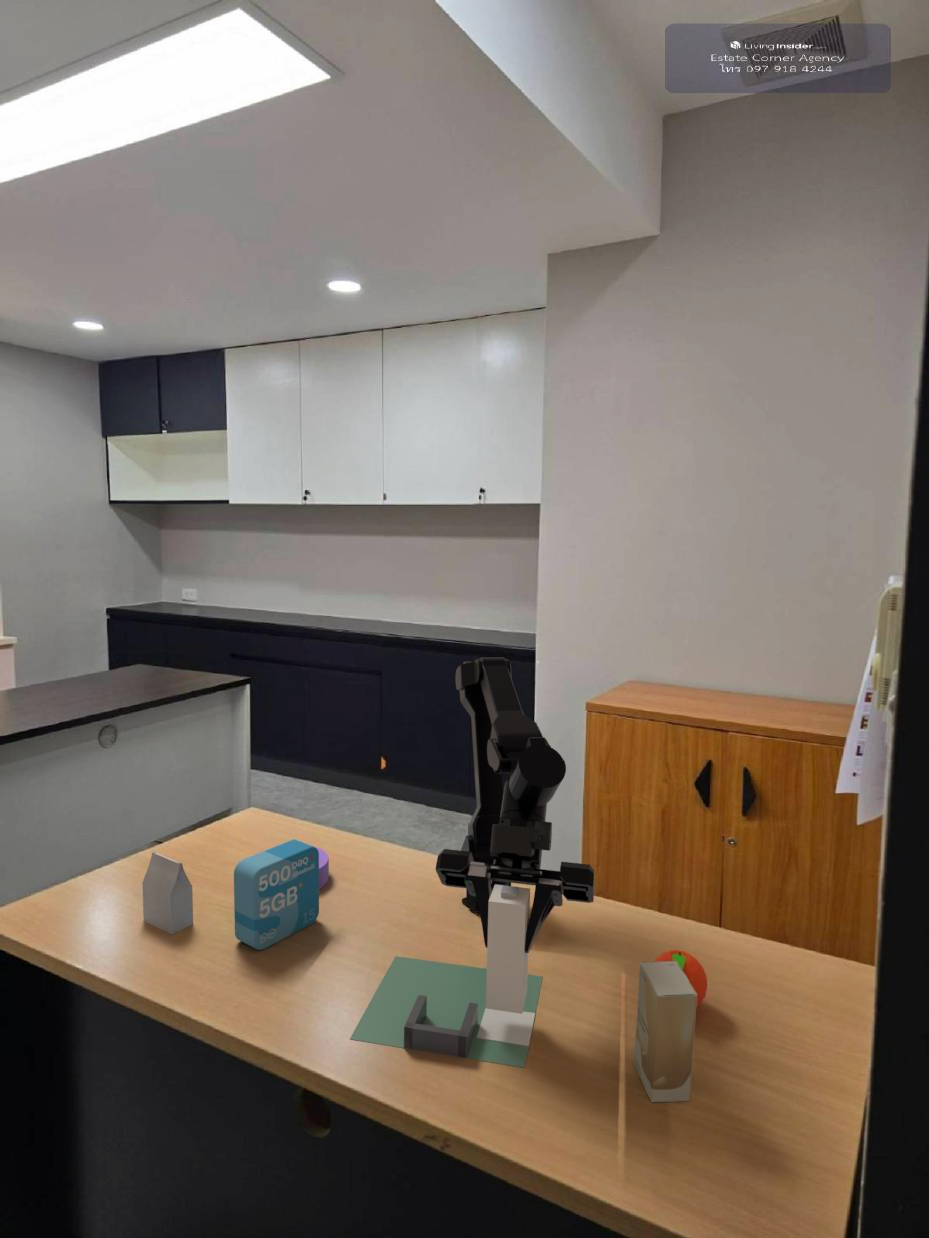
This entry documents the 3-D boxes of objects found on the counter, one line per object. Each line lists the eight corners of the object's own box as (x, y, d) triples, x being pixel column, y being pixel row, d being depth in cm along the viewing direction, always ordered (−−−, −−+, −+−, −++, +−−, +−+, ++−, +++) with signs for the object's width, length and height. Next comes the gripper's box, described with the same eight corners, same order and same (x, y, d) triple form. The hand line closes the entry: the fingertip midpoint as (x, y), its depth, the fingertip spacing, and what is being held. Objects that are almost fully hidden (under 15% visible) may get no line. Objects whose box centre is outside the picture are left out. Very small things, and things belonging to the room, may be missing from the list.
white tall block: (492, 986, 92) (494, 879, 90) (527, 991, 91) (530, 883, 90) (485, 1008, 88) (488, 896, 86) (522, 1013, 87) (525, 900, 86)
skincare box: (632, 1062, 86) (637, 959, 84) (670, 1060, 86) (676, 958, 84) (651, 1105, 79) (657, 994, 78) (692, 1103, 80) (698, 993, 78)
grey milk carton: (171, 934, 110) (169, 868, 109) (143, 920, 114) (141, 856, 113) (193, 924, 114) (191, 859, 112) (165, 910, 117) (163, 848, 116)
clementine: (706, 1034, 91) (709, 978, 90) (645, 1022, 93) (648, 967, 92) (705, 995, 98) (708, 943, 97) (650, 985, 100) (652, 934, 99)
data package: (254, 954, 106) (253, 871, 104) (234, 943, 108) (232, 862, 107) (319, 920, 115) (319, 843, 114) (299, 910, 118) (299, 836, 117)
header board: (395, 962, 104) (395, 938, 104) (542, 983, 100) (543, 958, 100) (349, 1046, 87) (349, 1018, 87) (524, 1076, 83) (525, 1045, 83)
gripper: (440, 785, 93) (414, 916, 83) (597, 799, 89) (588, 939, 79) (453, 823, 101) (431, 946, 92) (597, 837, 97) (589, 967, 88)
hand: (506, 949), depth 87 cm, fingers closed on white tall block, 4 cm apart
